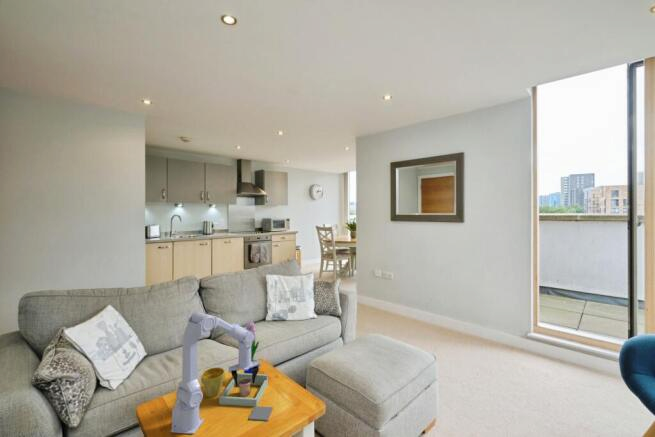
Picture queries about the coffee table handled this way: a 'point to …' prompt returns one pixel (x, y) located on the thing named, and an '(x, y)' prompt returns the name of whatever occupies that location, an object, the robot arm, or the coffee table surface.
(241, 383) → the terracotta pot
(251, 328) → the hyacinth
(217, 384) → the plant pot
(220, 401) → the frame
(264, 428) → the coffee table surface
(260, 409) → the slate pad
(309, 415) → the coffee table surface
